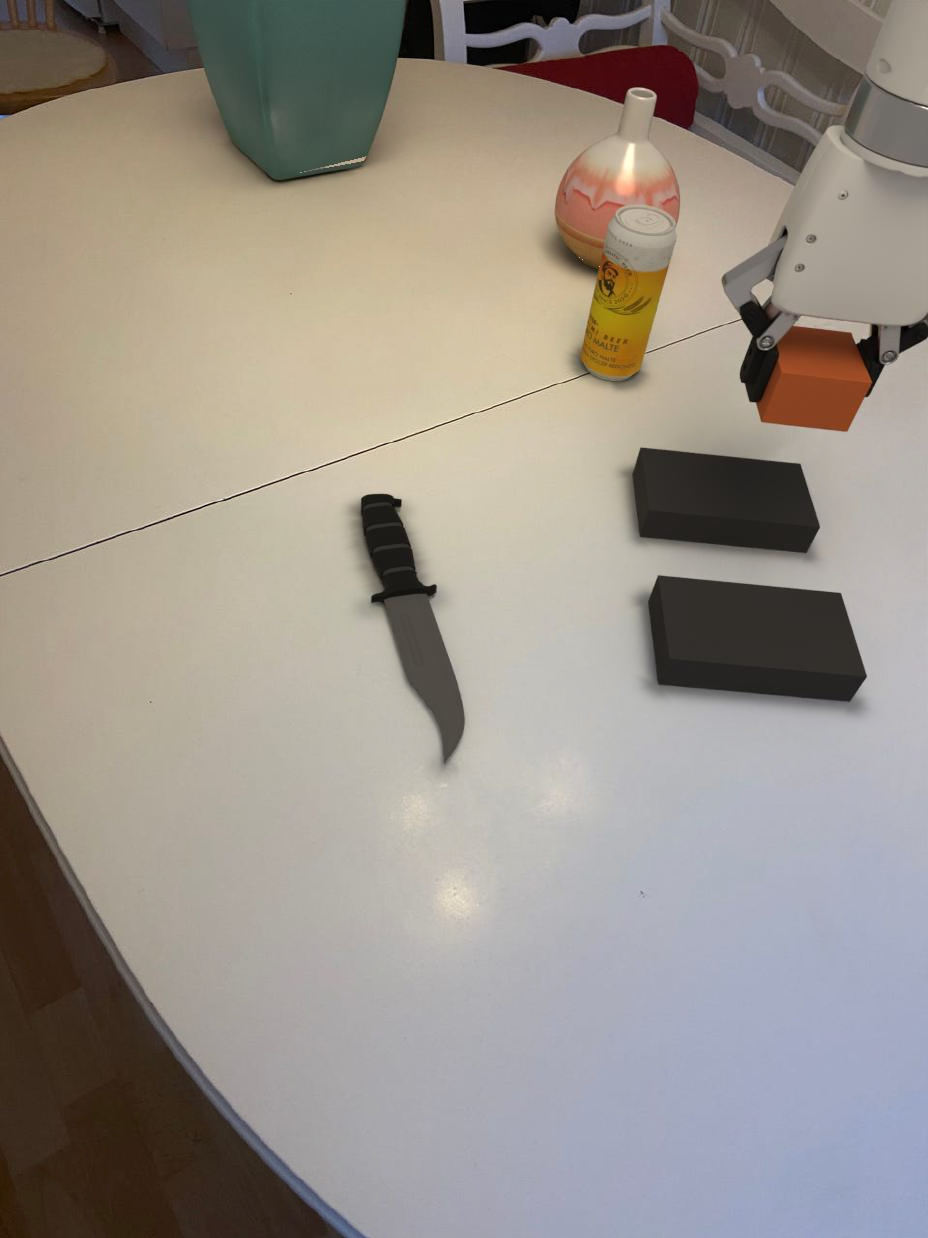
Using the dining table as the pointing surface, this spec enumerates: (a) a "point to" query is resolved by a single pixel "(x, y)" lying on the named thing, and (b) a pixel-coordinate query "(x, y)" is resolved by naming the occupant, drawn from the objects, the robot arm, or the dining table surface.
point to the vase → (615, 180)
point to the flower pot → (299, 76)
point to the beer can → (627, 290)
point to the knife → (412, 615)
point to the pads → (736, 612)
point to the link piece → (815, 381)
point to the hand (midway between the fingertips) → (799, 394)
